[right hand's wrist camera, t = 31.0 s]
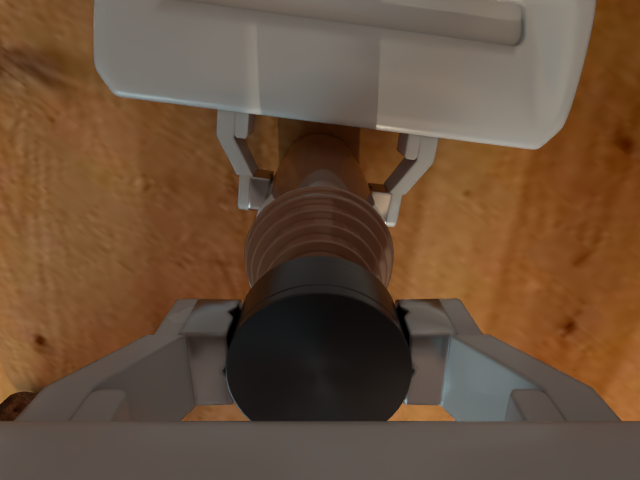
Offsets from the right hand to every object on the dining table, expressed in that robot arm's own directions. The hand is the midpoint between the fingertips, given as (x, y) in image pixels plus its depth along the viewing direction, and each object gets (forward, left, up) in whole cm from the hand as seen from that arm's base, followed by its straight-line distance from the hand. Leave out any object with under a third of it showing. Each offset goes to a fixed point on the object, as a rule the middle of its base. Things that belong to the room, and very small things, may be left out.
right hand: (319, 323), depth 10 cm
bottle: (0, 0, -17) cm, 17 cm away
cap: (0, 0, +2) cm, 2 cm away
